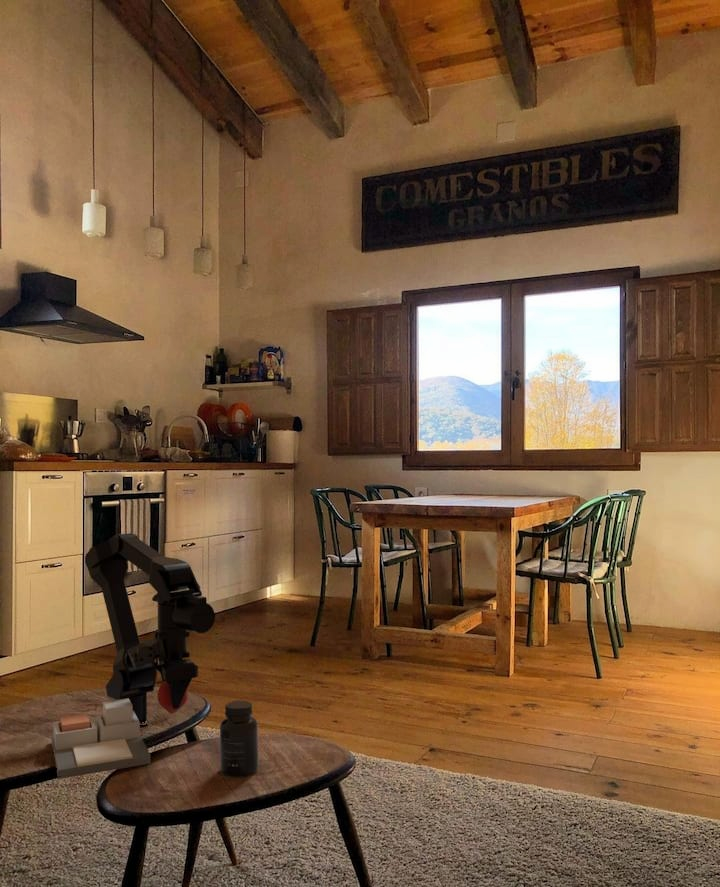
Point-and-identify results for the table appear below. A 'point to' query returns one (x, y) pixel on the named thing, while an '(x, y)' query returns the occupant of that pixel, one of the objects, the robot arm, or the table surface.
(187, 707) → the table surface
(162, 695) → the onion
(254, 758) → the supplement bottle
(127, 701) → the block
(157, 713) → the table surface
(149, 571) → the robot arm
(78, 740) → the board
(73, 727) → the reddish-brown block
